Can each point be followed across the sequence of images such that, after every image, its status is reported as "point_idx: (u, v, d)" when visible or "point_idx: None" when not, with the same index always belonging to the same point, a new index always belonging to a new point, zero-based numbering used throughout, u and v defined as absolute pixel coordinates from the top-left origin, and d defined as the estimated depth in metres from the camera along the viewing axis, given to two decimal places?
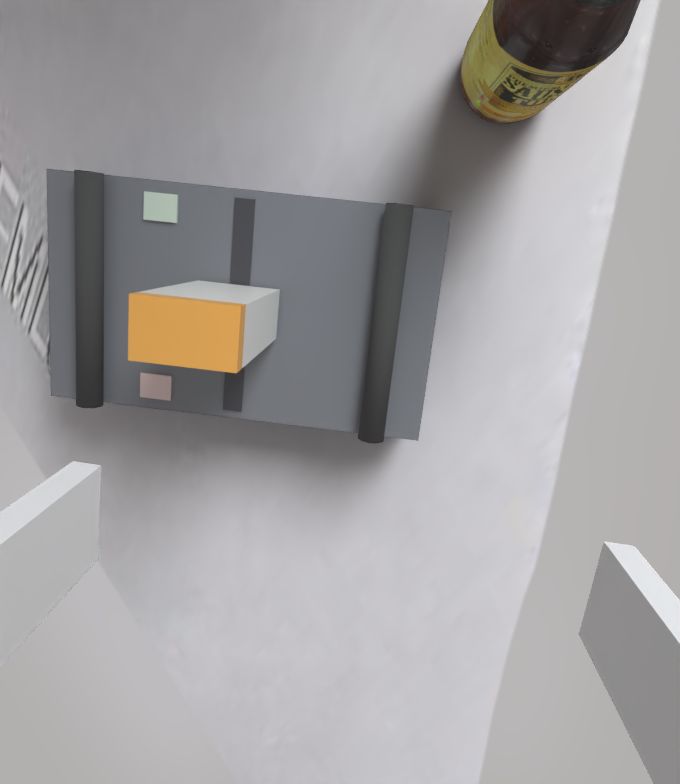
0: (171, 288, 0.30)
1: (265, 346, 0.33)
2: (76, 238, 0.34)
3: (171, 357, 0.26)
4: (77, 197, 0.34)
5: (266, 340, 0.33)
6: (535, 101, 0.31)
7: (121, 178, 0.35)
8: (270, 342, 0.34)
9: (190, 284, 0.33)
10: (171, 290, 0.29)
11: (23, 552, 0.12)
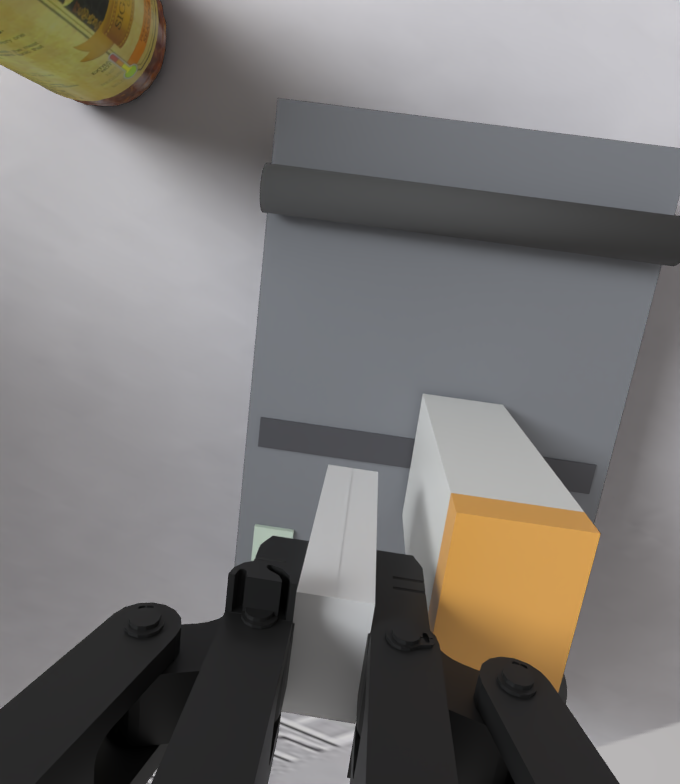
0: None
1: (521, 433, 0.19)
2: None
3: (551, 653, 0.13)
4: None
5: (510, 429, 0.19)
6: None
7: None
8: (511, 419, 0.20)
9: (407, 540, 0.20)
10: None
11: None
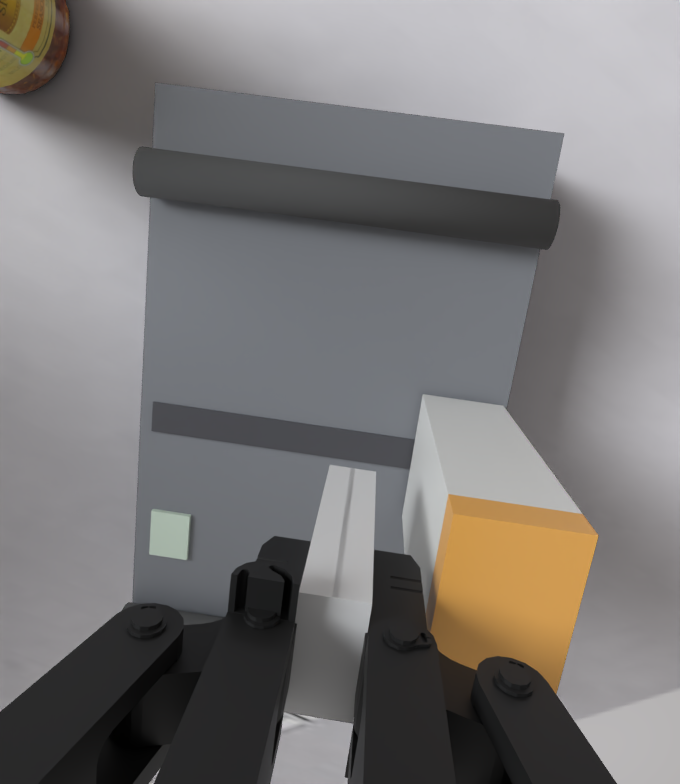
0: None
1: (521, 434, 0.18)
2: None
3: (548, 656, 0.13)
4: None
5: (510, 430, 0.19)
6: None
7: (135, 579, 0.25)
8: (511, 420, 0.20)
9: (406, 541, 0.20)
10: None
11: None
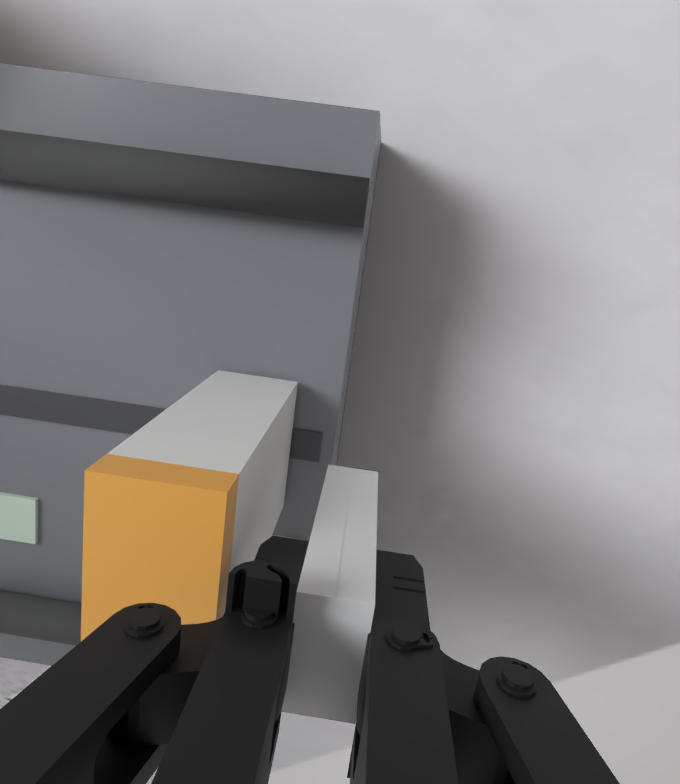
0: None
1: (279, 405, 0.18)
2: (52, 640, 0.24)
3: (199, 616, 0.13)
4: None
5: (270, 402, 0.19)
6: None
7: None
8: (287, 393, 0.20)
9: None
10: None
11: None
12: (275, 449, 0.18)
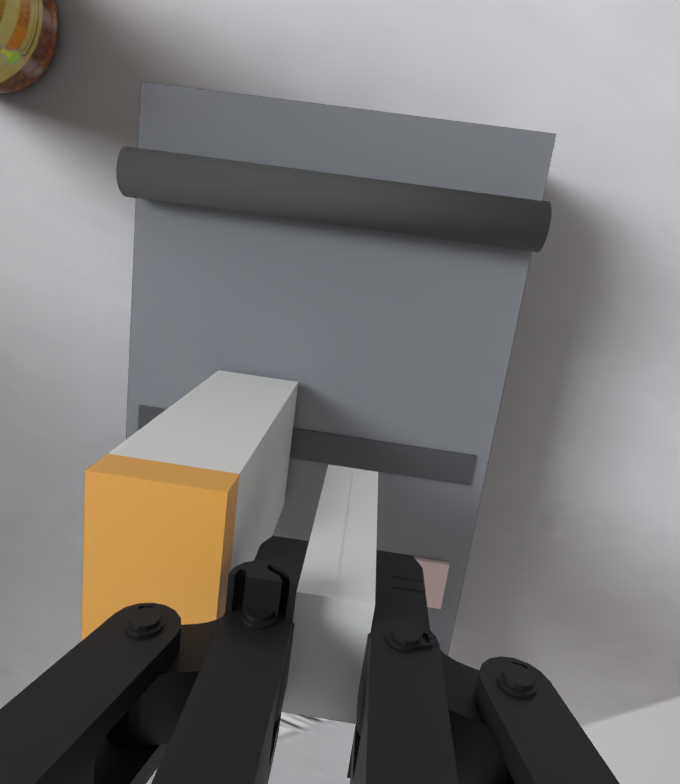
0: None
1: (279, 405, 0.18)
2: None
3: (199, 616, 0.13)
4: None
5: (270, 402, 0.19)
6: None
7: None
8: (288, 394, 0.20)
9: None
10: None
11: None
12: (275, 449, 0.18)
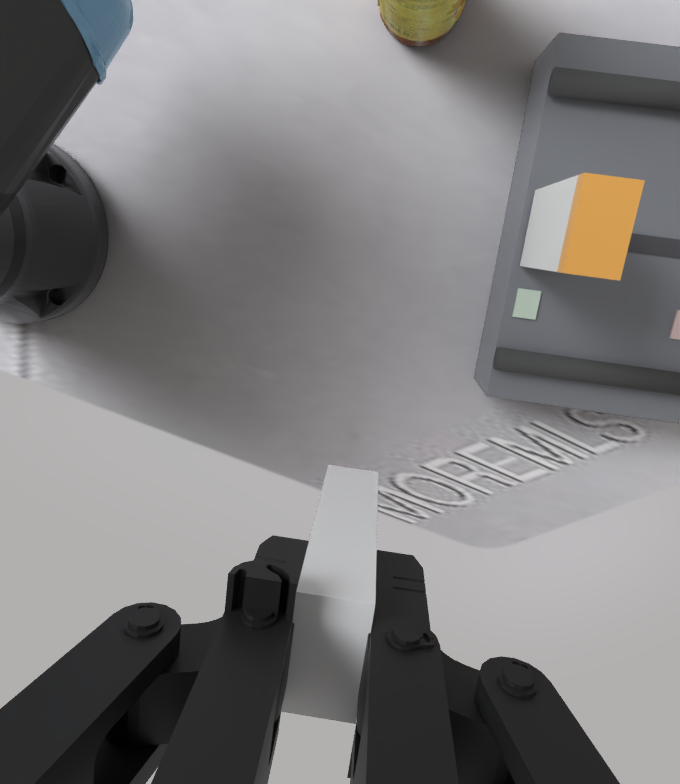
0: (544, 260, 0.34)
1: None
2: (550, 373, 0.41)
3: (622, 240, 0.30)
4: (518, 368, 0.41)
5: None
6: None
7: (499, 335, 0.42)
8: None
9: (531, 260, 0.37)
10: (549, 256, 0.34)
11: None
12: None
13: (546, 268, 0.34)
